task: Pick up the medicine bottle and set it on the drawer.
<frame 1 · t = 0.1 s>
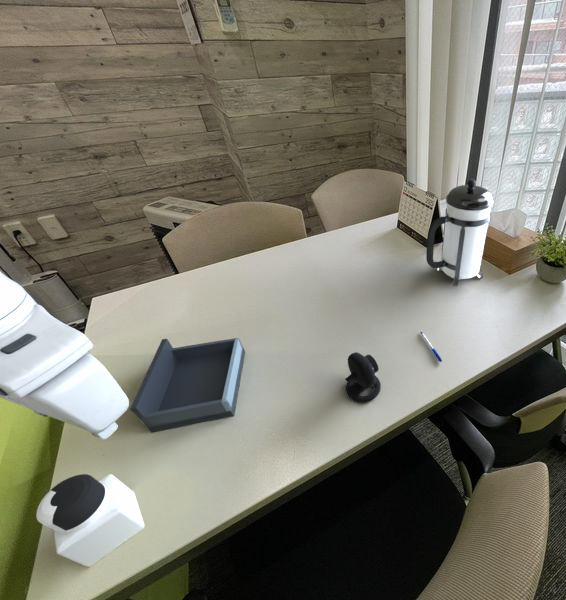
hand: (78, 421, 38), 23 cm above the table, tool pointing down, fingers open, 8 cm apart
coffee press: (456, 275, 103), on the table
drawer: (203, 387, 70), on the table
webcam: (363, 389, 70), on the table
medicine bottle: (114, 527, 50), on the table
ballpoint pen: (430, 347, 79), on the table
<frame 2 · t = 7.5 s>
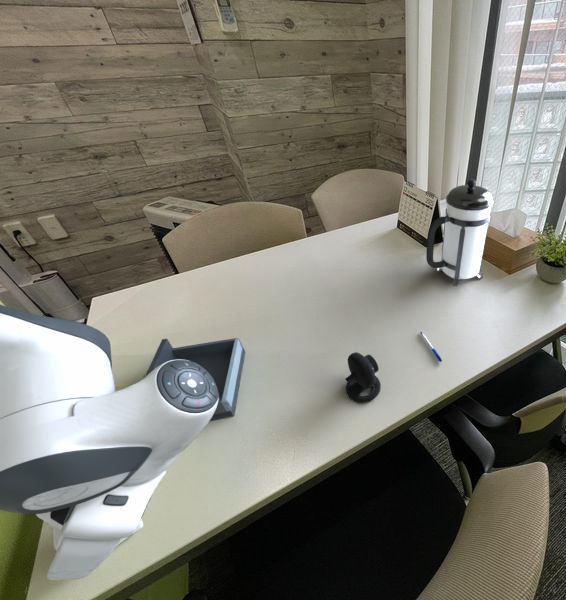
hand: (90, 503, 45), 8 cm above the table, tool tilted 45°, fingers open, 8 cm apart
medicine bottle: (113, 527, 50), on the table, touching gripper
everything else where it was.
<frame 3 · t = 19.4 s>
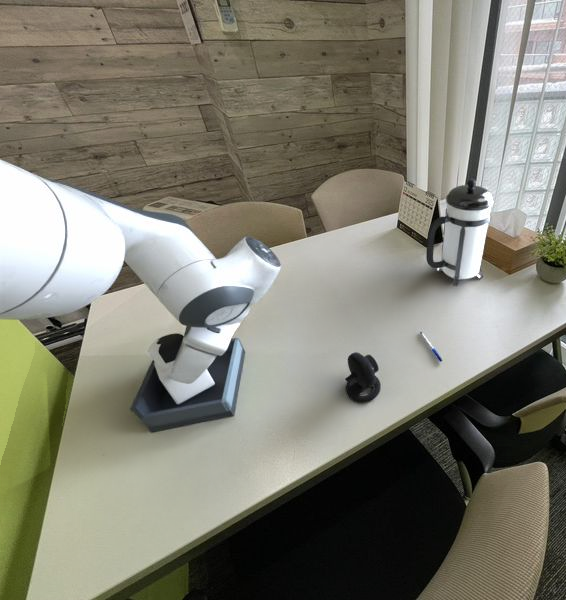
hand: (181, 357, 63), 10 cm above the table, tool tilted 45°, fingers open, 8 cm apart
medicine bottle: (193, 387, 67), point 3 cm above the table, touching drawer, gripper
everything else where it was.
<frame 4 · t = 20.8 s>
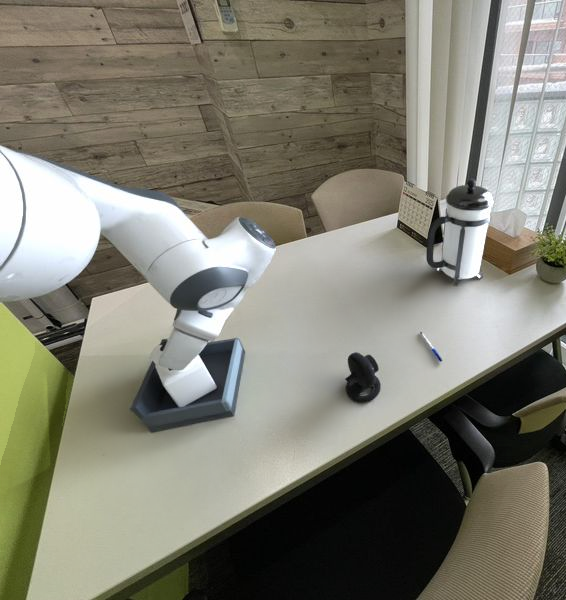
hand: (172, 344, 61), 14 cm above the table, tool tilted 45°, fingers open, 8 cm apart
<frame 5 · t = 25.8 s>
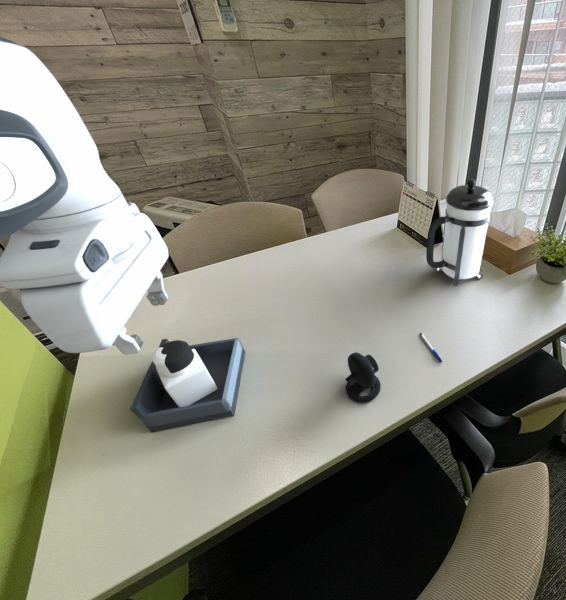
hand: (148, 324, 43), 29 cm above the table, tool pointing down, fingers open, 8 cm apart
medicine bottle: (195, 389, 67), point 2 cm above the table, touching drawer
everything else where it was.
at the end: medicine bottle inside the target area on the drawer (1.8 cm from its centre), point 1.8 cm above the drawer's base; medicine bottle tilted 0°; the gripper is holding nothing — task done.
